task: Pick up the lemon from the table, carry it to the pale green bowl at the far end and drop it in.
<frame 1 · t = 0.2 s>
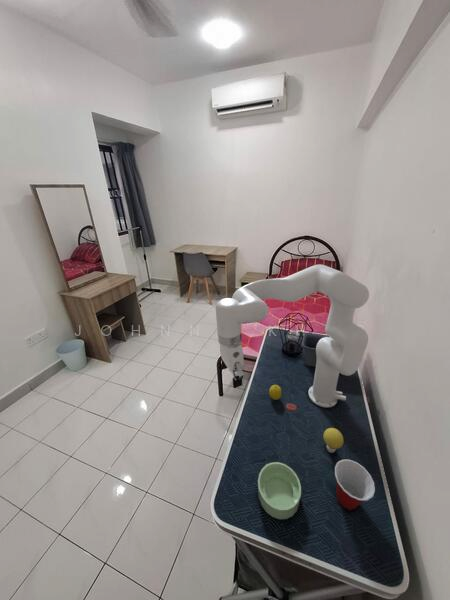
hand: (231, 376, 83), 31 cm above the table, tool pointing down, fingers open, 9 cm apart
pale green bowl: (278, 494, 78), on the table
light bulb: (330, 449, 90), on the table
storage bin: (320, 362, 132), on the table
plastic cup: (347, 499, 76), on the table
lemon: (274, 398, 112), on the table
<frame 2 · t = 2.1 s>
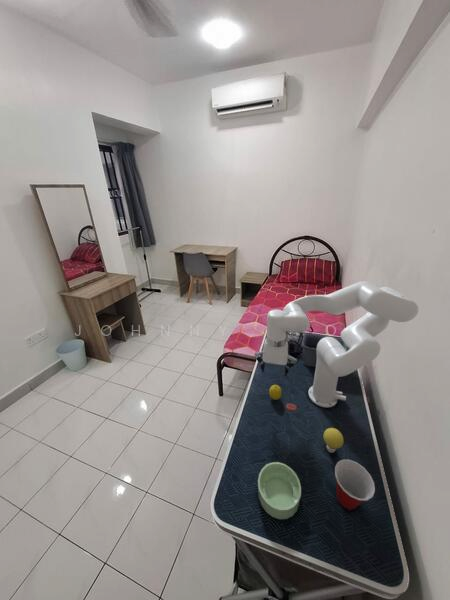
hand: (274, 371, 103), 17 cm above the table, tool pointing down, fingers open, 9 cm apart
nothing on the table moved.
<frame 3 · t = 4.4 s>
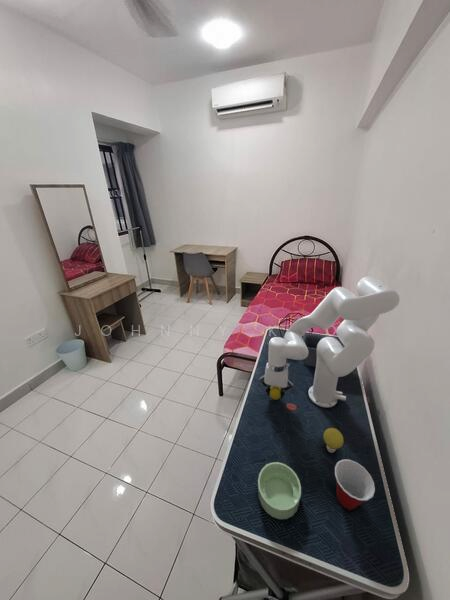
hand: (275, 394, 110), 3 cm above the table, tool pointing down, fingers closed on lemon, 5 cm apart
lemon: (274, 398, 112), on the table, touching gripper
everything else where it was.
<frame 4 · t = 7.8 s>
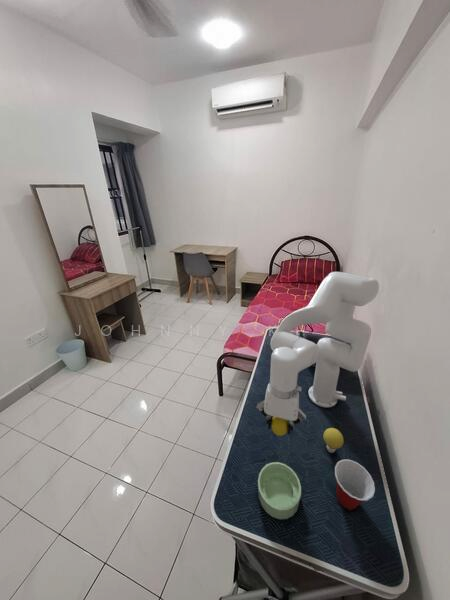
hand: (279, 427, 77), 20 cm above the table, tool pointing down, fingers closed on lemon, 5 cm apart
lemon: (279, 433, 79), point 17 cm above the table, touching gripper
everything else where it was.
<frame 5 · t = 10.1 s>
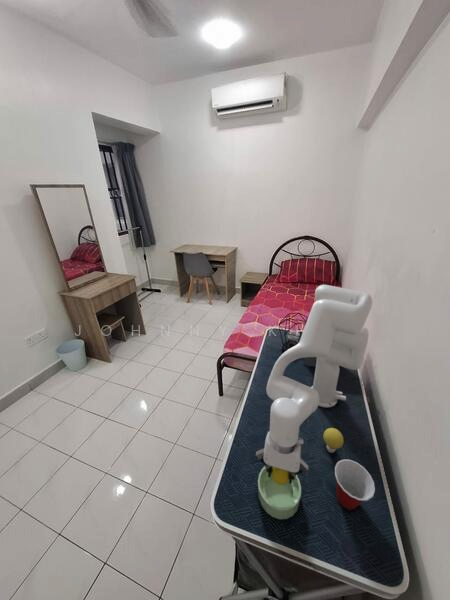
hand: (280, 475, 73), 11 cm above the table, tool pointing down, fingers closed on lemon, 5 cm apart
lemon: (279, 480, 74), point 8 cm above the table, touching gripper
everything else where it was.
when the fingers open (7 cm above the table, at t = 11.6 s): lemon drops 4 cm, resting on pale green bowl.
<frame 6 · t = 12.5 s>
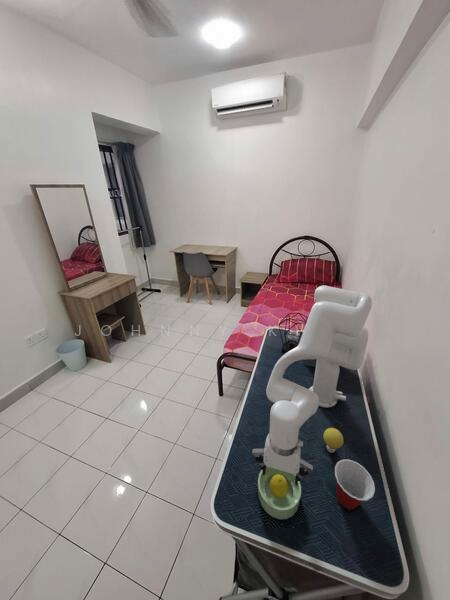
hand: (280, 475, 73), 11 cm above the table, tool pointing down, fingers open, 9 cm apart
lemon: (278, 493, 78), resting on pale green bowl
everything else where it was.
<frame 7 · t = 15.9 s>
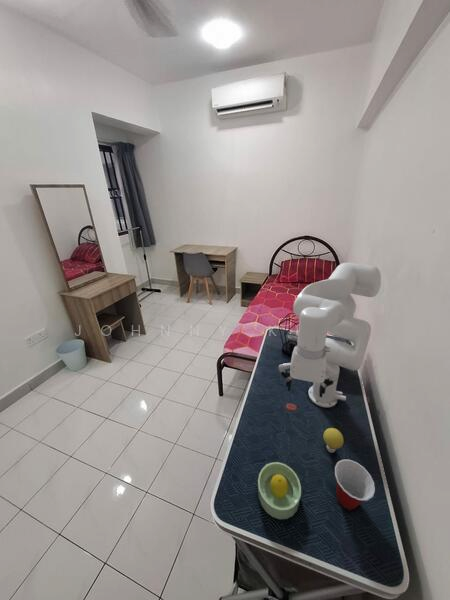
hand: (304, 390, 77), 30 cm above the table, tool pointing down, fingers open, 9 cm apart
nothing on the table moved.
at the end: lemon inside the target area in the pale green bowl (0.2 cm from its centre), point 0.3 cm above the pale green bowl's base; the gripper is holding nothing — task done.
